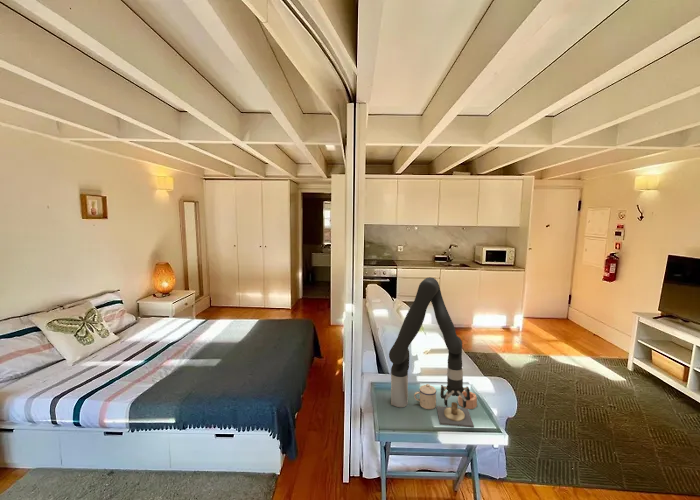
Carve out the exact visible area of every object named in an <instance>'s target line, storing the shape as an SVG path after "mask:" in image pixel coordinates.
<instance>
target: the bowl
mask: <svg viewBox="0 0 700 500" xmlns="http://www.w3.org/2000/svg"><path fill="white" fill-rule="evenodd" d="M462 393H463V395H464V396H465V397H466V396H467V393H466V392H465V390H464V391H463V392H462ZM477 401H478V397H477V395H476V393H474V392H472V391H470V400H467V401H466V407H465V408H468V410H474V409H475V408H477V407H478V405H477V404H478V402H477ZM457 404H458V406H459V407H460V408H463V399H462V398H461V396H457Z"/></svg>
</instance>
